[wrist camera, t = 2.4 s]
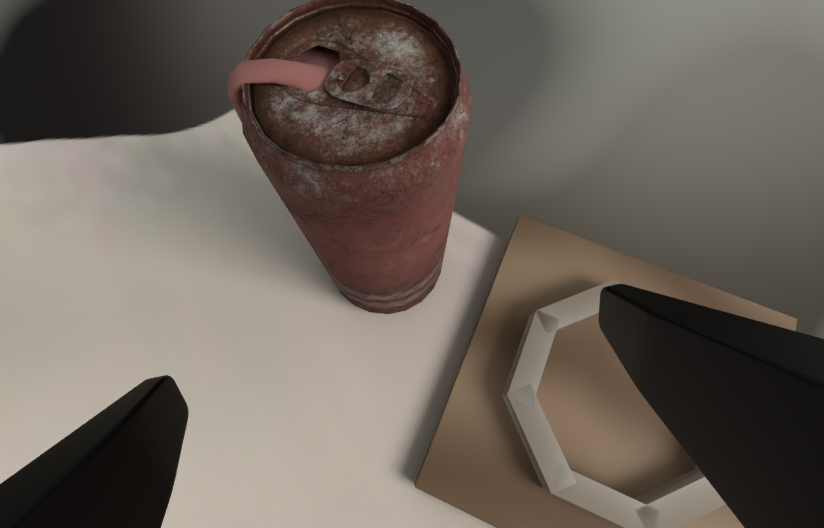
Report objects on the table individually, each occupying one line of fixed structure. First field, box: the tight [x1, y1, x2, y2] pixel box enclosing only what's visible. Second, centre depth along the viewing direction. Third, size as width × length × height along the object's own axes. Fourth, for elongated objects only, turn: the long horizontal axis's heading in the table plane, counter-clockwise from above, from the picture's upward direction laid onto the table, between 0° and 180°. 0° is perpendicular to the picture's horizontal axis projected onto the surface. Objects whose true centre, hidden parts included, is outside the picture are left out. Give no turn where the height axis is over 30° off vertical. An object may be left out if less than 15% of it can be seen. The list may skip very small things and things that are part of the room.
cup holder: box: [415, 215, 797, 528], centre depth 20 cm, size 15×15×2 cm
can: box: [227, 0, 472, 314], centre depth 16 cm, size 6×6×14 cm
